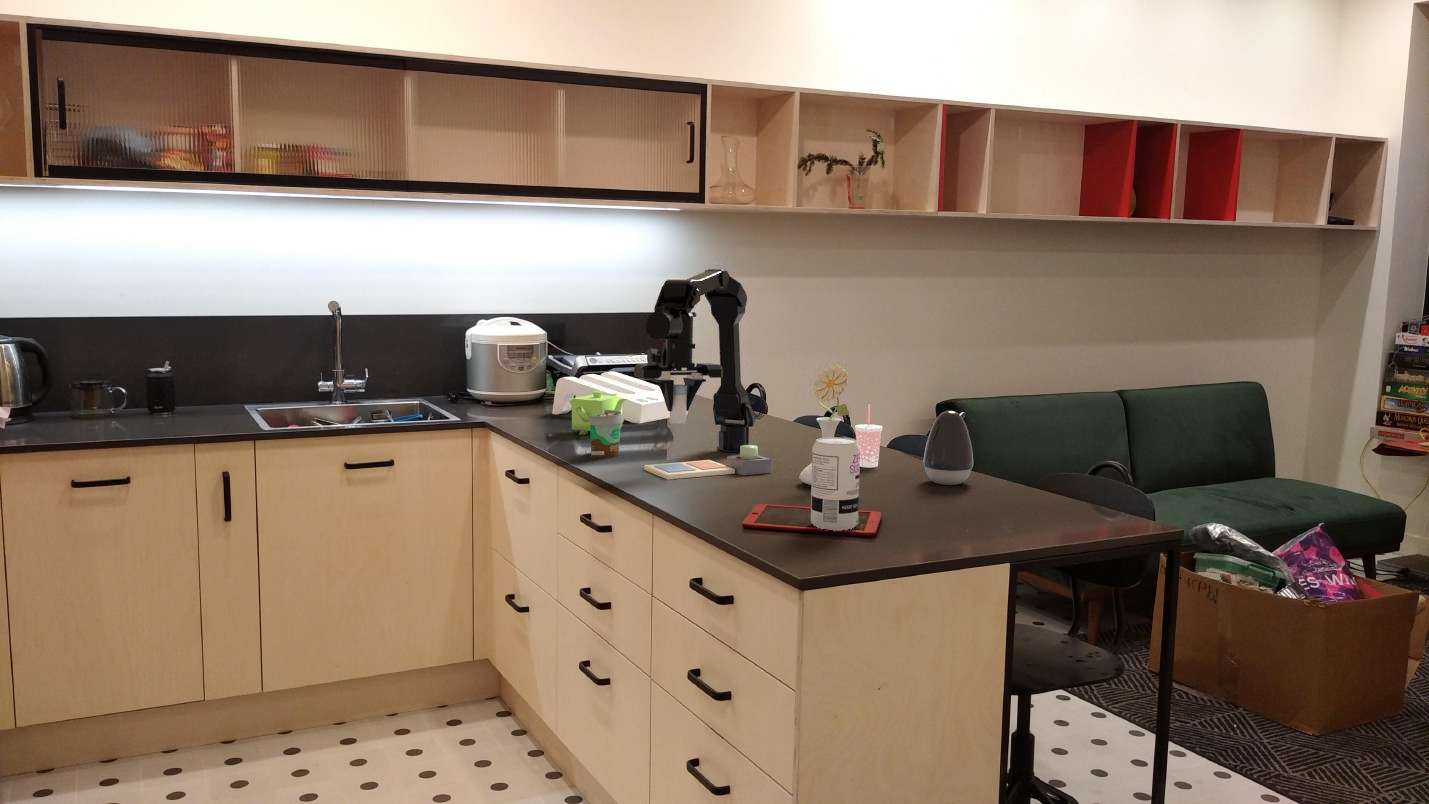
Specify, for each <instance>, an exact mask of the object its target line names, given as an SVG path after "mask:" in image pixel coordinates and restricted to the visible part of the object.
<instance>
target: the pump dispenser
mask: <svg viewBox="0 0 1429 804" xmlns="http://www.w3.org/2000/svg"><path fill="white" fill-rule="evenodd" d="M965 417H966V413H965V412H963V411H962V412H960V413H958V412H957V411H954V410H945V411H943V412H941V413H940V414H939V415H938V416H937V417H936V419H935V421H934V422H933V425H932V426H931V429H930V432H929V434H928V438H927V441H926V444H925V450H924V455H923V461H922V462H923V463H922V465H923V467H924V470H925V473H926V476H927V477H928V479H930V481H932V482H934V483H935V484H938V485H942V486H943V485H945V486H957V485H960V484H962V483H964V482H965V481H967V479H969V476H970V474H971V472H972V469H973V467H974V455H973V454H974V453H973V447H972V441H971V437H970V433H969V430H968V426H967V424H966V423H965V420H964V418H965Z"/></svg>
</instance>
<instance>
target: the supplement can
mask: <svg viewBox="0 0 1429 804" xmlns="http://www.w3.org/2000/svg"><path fill="white" fill-rule="evenodd" d="M811 463H812V485H810V487H811V489H810V493H811V494H810V495H811V496H810V498H811V499H810V523H811V524H812V525H813V527H815V526H816V527H817V528H816V527H815V528H816V529H819V528H821V529H820V530H822V529H828V530H833V531H832V532H843V531H842V530H845V531H849V530H848V529H850V530H853V529H854V527H856V526H857V525H859V510H860V509H859V508H860V506H859V505H860V503H859V501H860V499H859V498H860V469H861V468H860V449H859V447H858V445H857V439H853V438H850V437H849V438H848V437H835V436H834V437H828V438H822V437H821V438H817V439H815V442H814V444H813V446H812V448H811ZM852 528H853V529H852ZM828 530H827V531H828Z"/></svg>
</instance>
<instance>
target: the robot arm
mask: <svg viewBox="0 0 1429 804" xmlns="http://www.w3.org/2000/svg"><path fill="white" fill-rule="evenodd" d="M747 295H748V294H747V292H746V290H745V289H744V287H743V285H742V283H740V281H738V280H737V279H735V278H734V277H732V276H731V275H730V273H729V272H728V271H727V270H725V269H723V268H722V269H719V268H717V269H716V268H715V269H714V268H713V269H711V268H708V269H706V270H704V271H703V272H701V273H699V274H696V275H693V276H691V277H688V278H687V279H666V280H665V281H664V282H663V285H661V288H660V292H659V294H658V297H657V299H656V302H655V304H654V309H653V310H654V312H652V313H651V314H650V315H649V316H647V319H646V322H645V324H644V325H645V330H646V333H647V335H648V336H649V338H651V339H653V340H657V341H660V340H665V342H663V345H662V350H658V349H657V348H649V349H647V351H646V352H647V354H646V362H647V363H636V365H635V367H634V369H633V378H637V379H645V380H646V379H647V380H651V381H652V382H655V383H656V385H657V386H659V387H660V389H661V392H662V394H663V397H664V400H665V403H666V407H667V410H668V411H672V406H673V389H674V384H675V380H674V379H671V376H686V377H683V378H682V379H683V384H684V385H687V407H686V411H688V412H689V409H690V407H691V405H692V403H693V401H694V398H695V396H696V395H697V393H698V391H699V390H700V388H701V386H702V384H703V383H706V382H707V379H705V378H704V377H707V376H708V377H709V378H712V379H713V378H717V379H718V378H720V386H719V388H718V389H717V391H716V392H715V393H714V394H713V395H712V396H713V398H712V399H713V405H712V412H713V418H714V425H715V426H720V430H719V431H718V446H717V447H716V448H717V450H719V451H723V452H726V453H740V446H742V445H750V442H749V441H750V428H752V427H754V426H755V423H756V415H755V413H754V411H753V408H752V405H751V403H750V401H749V393H748V392H747V390H746V389H745V387H744V386H743V384H742V379H741V377H742V376H741V349H740V348H741V346H740V345H741V344H740V342H741V341H740V322H741V320H742V319H743V316H744V315H745V314H746V306H747V303H748V296H747ZM702 296H704V298H705V299H706V300H707V302H708V304H709V306H710V312H711V316H712V317H713V319H714V320H715V322H716V323H717V325H718V339H719V340H718V342H719V346H718V347H719V364H718V363H709V362H708V363H707V362H705V363H701V362H700V363H698V362H697V363H695V362H693V349H696V343H693V341H694V340H693V337H694V334H693V333H694V318H696V317H697V313H696V311H694V308H695V306H696V305H697V304H698V303H699V302H700V301H701V297H702Z"/></svg>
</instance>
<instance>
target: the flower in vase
mask: <svg viewBox="0 0 1429 804" xmlns="http://www.w3.org/2000/svg"><path fill="white" fill-rule="evenodd" d="M814 382H815V383H814V389H813V390H814V391H815V392H814V396H815V397H816V398H817V399H818V403H819V406H820V407H822V408H823V409H825V410H826V411H828V412H829V413H831V416H830V417H827V416H825V417H817V418H816V421H817V423H818V425H819V427H820V430H821V438H828V437H835V433H836V430H837V426H838V425H839V423H840V422H841V420H842V419H841V418H838V417H834V415H835V414H836V413H837V416H839V417H843V416H847V415H851V414H850V411H849V409H848V406H847V405H846V403H842V404H840V401H839V397H841V396H842V393H844V392H845V390H846V388H847V387H848V385H849V372H847V370H846V369H845V368H842V367H841V366H839V365H836V366H834V367H833V366H829V367H828V368H827V369H823V370H822V373H819V374H818V375H817V379H815V381H814ZM831 400H833V401H834V400H836V407H835V409H834V410H832V409H831V408H829V407H828V406H826V405H825V404H823V403H826V402H830V401H831ZM822 402H823V403H822ZM839 404H840V405H839ZM798 477H799V479H800V481H801V482H803V483H805V485H806V484H807V485H810V486H811V485H812V462H811V463H809V465H807V466H806V467H805V468H803V470H802V471H800V474H799V476H798Z"/></svg>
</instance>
